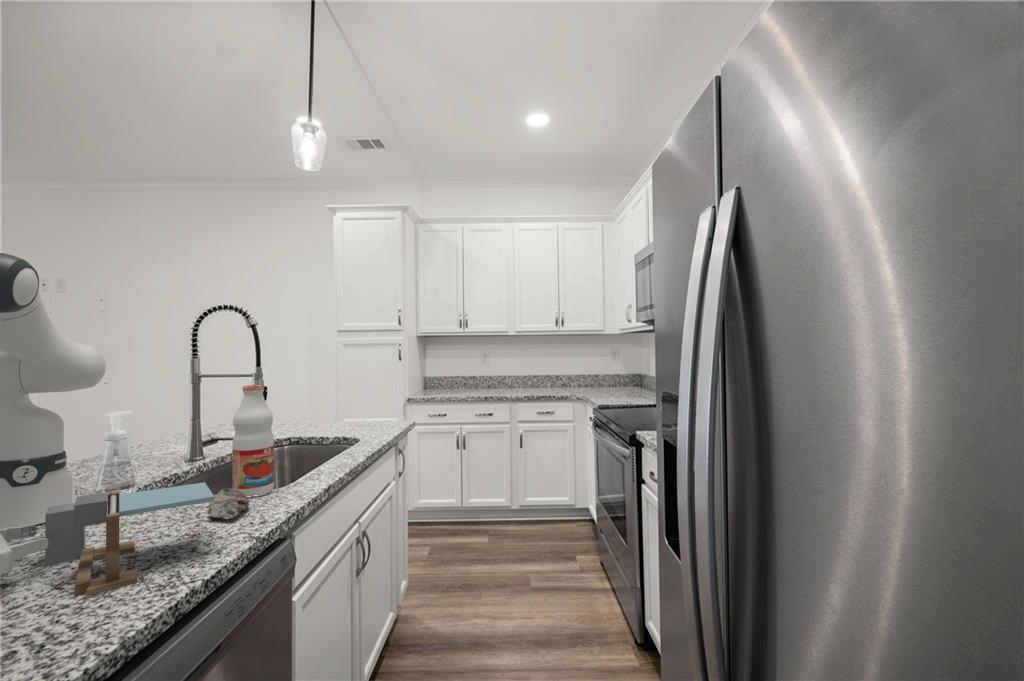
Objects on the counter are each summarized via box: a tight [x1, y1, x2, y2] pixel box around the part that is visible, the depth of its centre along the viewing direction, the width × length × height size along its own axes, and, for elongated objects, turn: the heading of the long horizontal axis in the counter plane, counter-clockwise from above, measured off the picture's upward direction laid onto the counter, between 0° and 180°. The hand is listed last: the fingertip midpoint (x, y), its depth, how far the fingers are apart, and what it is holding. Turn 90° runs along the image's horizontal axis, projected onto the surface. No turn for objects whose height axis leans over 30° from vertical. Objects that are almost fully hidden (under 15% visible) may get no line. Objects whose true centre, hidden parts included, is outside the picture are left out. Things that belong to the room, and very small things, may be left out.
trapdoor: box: [73, 481, 215, 528], centre depth 83 cm, size 13×19×4 cm
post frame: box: [74, 490, 138, 596], centre depth 79 cm, size 19×7×11 cm, turn 40°
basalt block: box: [44, 503, 87, 567], centre depth 84 cm, size 5×5×9 cm
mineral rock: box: [208, 487, 250, 520], centre depth 106 cm, size 15×8×4 cm, turn 15°
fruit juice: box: [231, 384, 275, 499], centre depth 121 cm, size 9×9×28 cm
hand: (41, 535), depth 81 cm, fingers open, 8 cm apart
